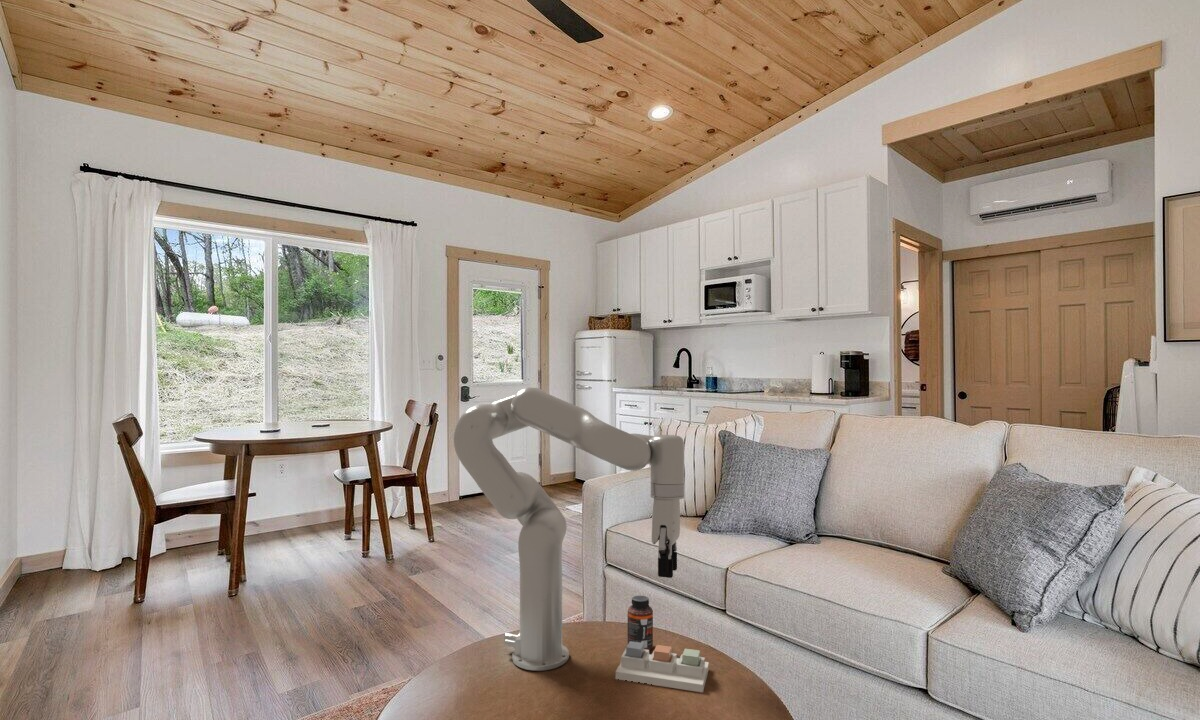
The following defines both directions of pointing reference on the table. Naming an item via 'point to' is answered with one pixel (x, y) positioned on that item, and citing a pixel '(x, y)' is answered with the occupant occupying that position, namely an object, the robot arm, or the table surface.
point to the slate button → (635, 649)
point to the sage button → (691, 657)
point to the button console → (663, 672)
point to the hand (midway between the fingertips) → (667, 572)
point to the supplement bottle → (640, 622)
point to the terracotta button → (663, 653)
